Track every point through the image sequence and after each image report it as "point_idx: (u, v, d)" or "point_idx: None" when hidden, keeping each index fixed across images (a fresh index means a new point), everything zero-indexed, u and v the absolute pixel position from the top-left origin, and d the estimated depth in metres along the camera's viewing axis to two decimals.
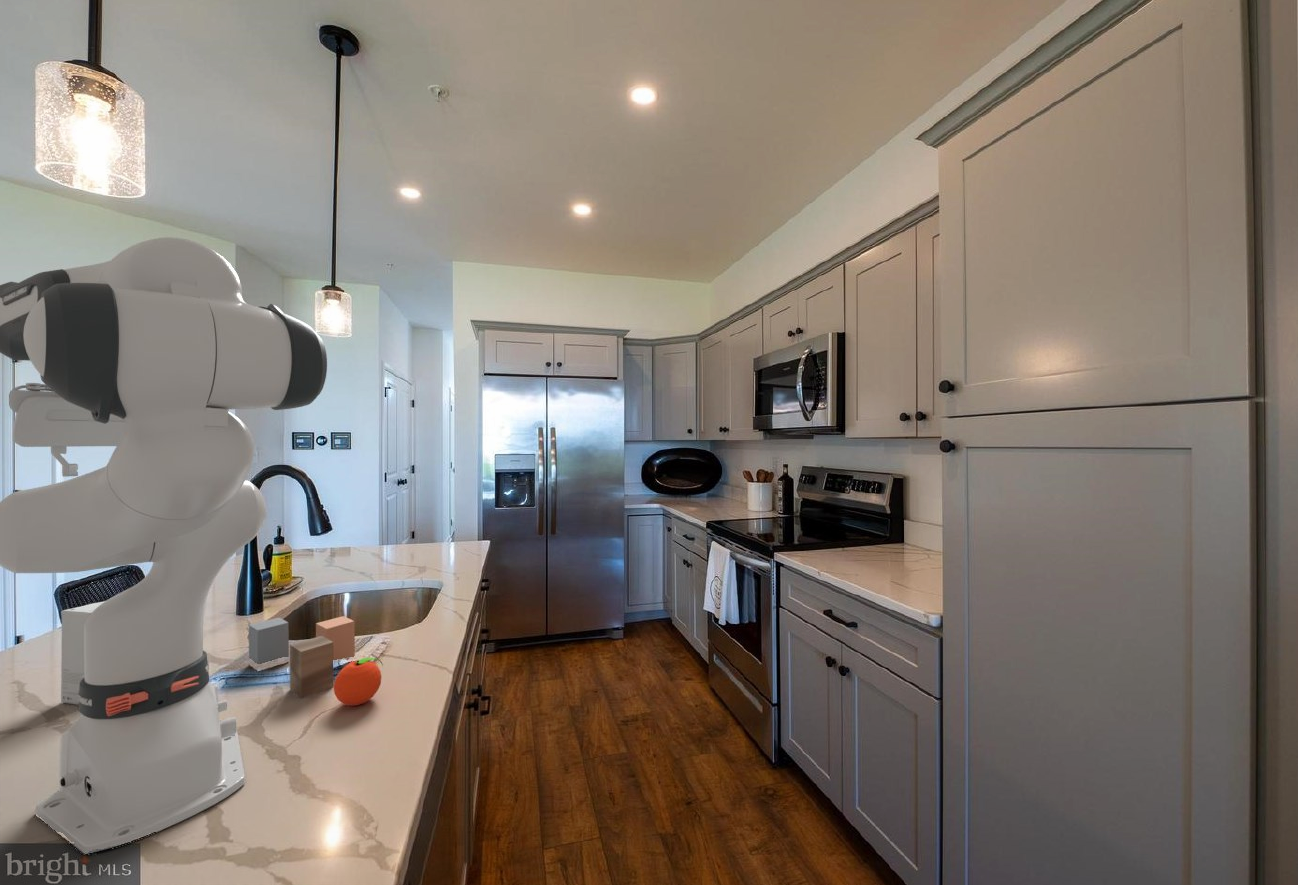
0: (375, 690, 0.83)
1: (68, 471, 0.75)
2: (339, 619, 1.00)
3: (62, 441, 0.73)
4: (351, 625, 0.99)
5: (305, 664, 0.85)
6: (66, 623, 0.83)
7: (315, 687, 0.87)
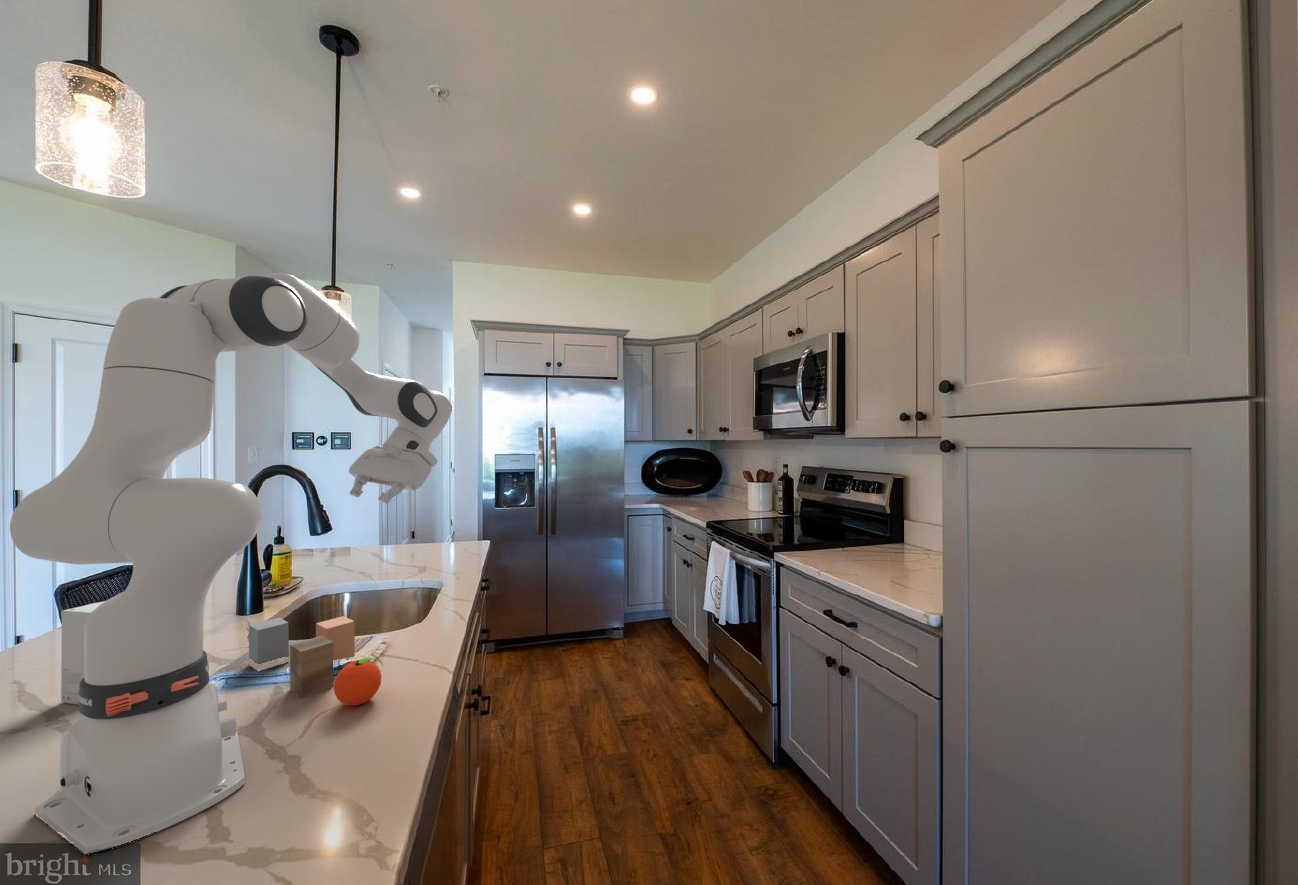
0: (375, 690, 0.83)
1: (352, 490, 1.12)
2: (339, 619, 1.00)
3: (360, 470, 1.14)
4: (351, 625, 0.99)
5: (305, 664, 0.85)
6: (66, 623, 0.83)
7: (315, 687, 0.87)
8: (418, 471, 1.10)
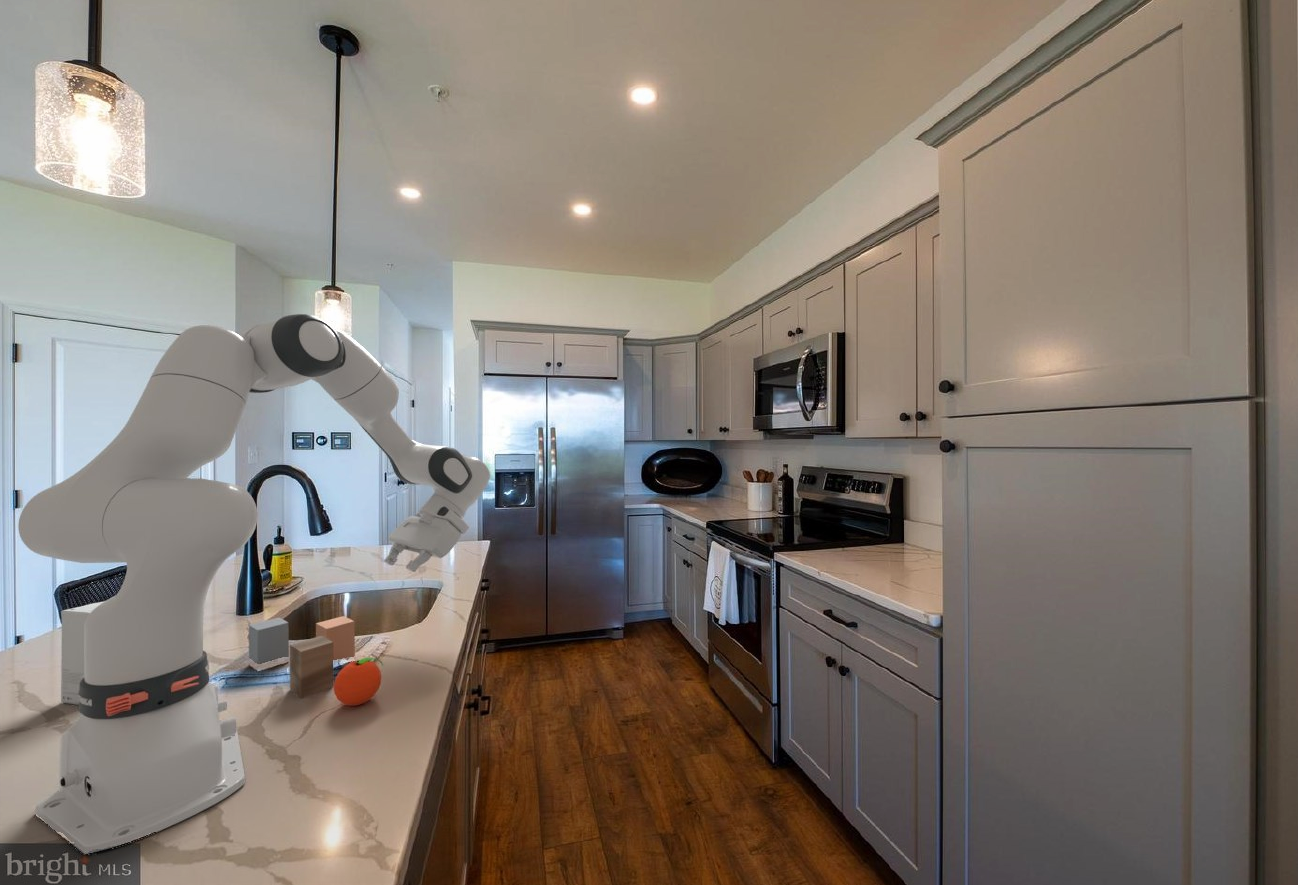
0: (375, 690, 0.83)
1: (387, 558, 1.12)
2: (339, 619, 1.00)
3: (397, 538, 1.14)
4: (351, 625, 0.99)
5: (305, 664, 0.85)
6: (66, 623, 0.83)
7: (315, 687, 0.87)
8: (444, 538, 1.07)
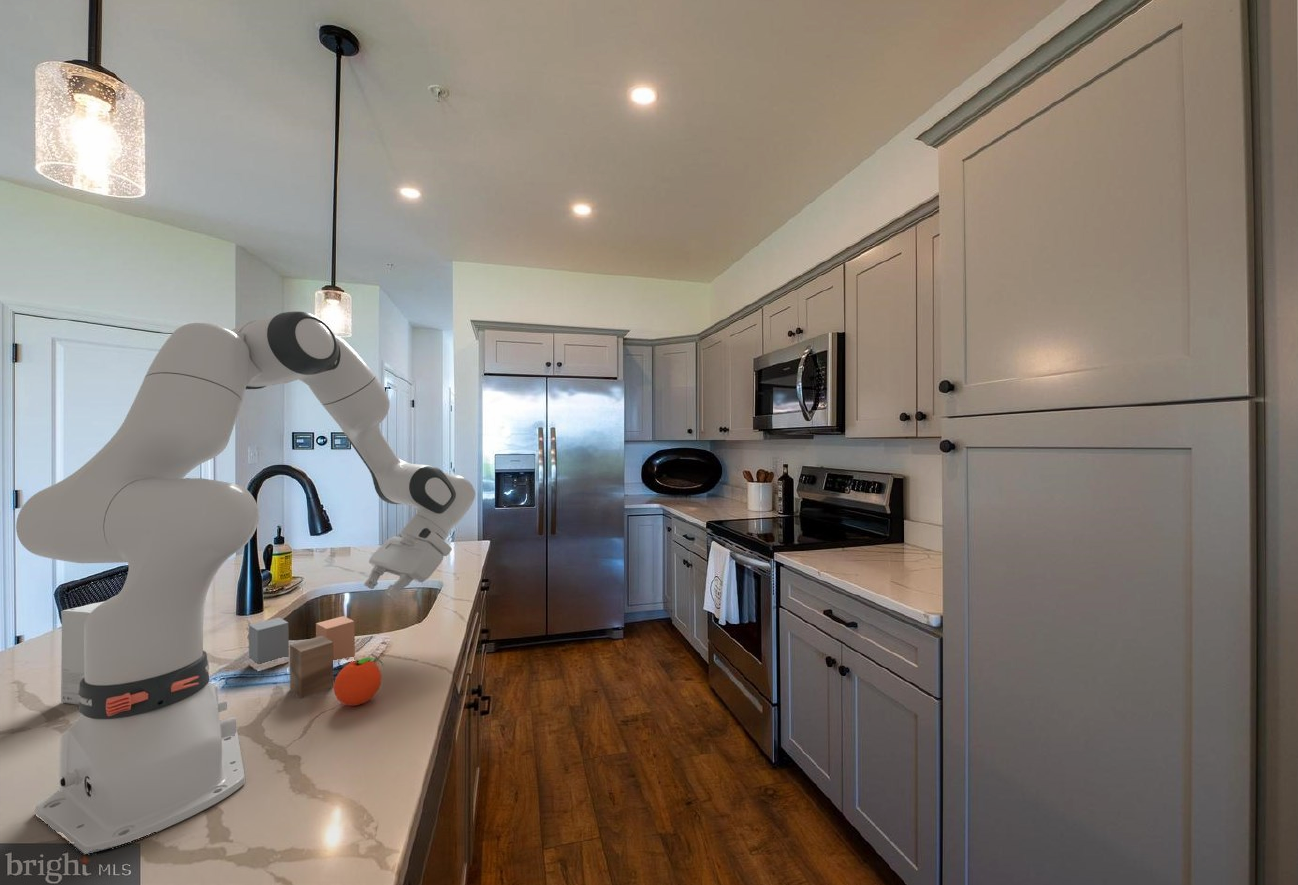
0: (375, 690, 0.83)
1: (367, 581, 1.08)
2: (339, 619, 1.00)
3: (377, 560, 1.11)
4: (351, 625, 0.99)
5: (305, 664, 0.85)
6: (66, 623, 0.83)
7: (315, 687, 0.87)
8: (425, 561, 1.03)
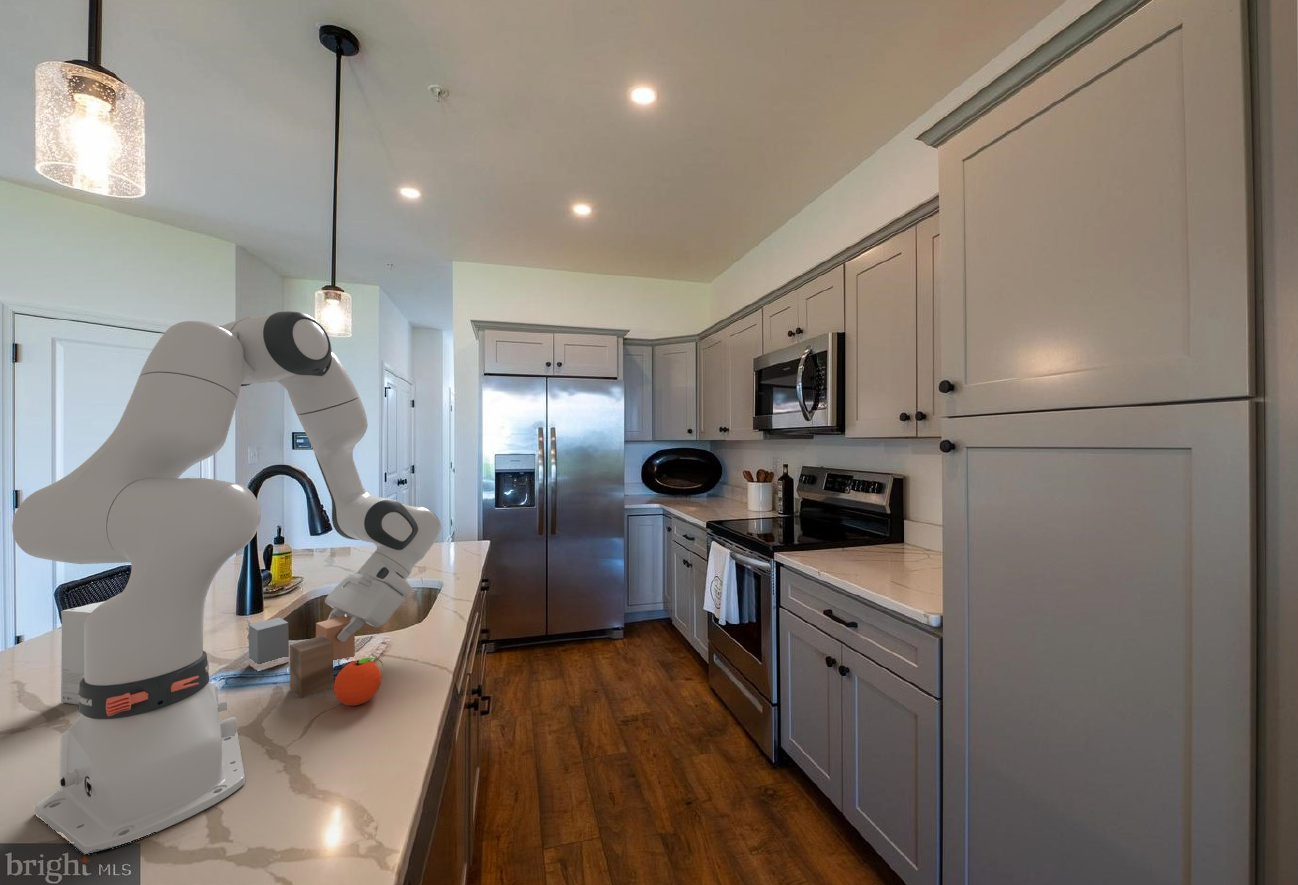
0: (375, 690, 0.83)
1: None
2: (339, 619, 1.00)
3: (333, 601, 1.03)
4: None
5: (305, 664, 0.85)
6: (66, 623, 0.83)
7: (315, 687, 0.87)
8: (382, 605, 0.96)
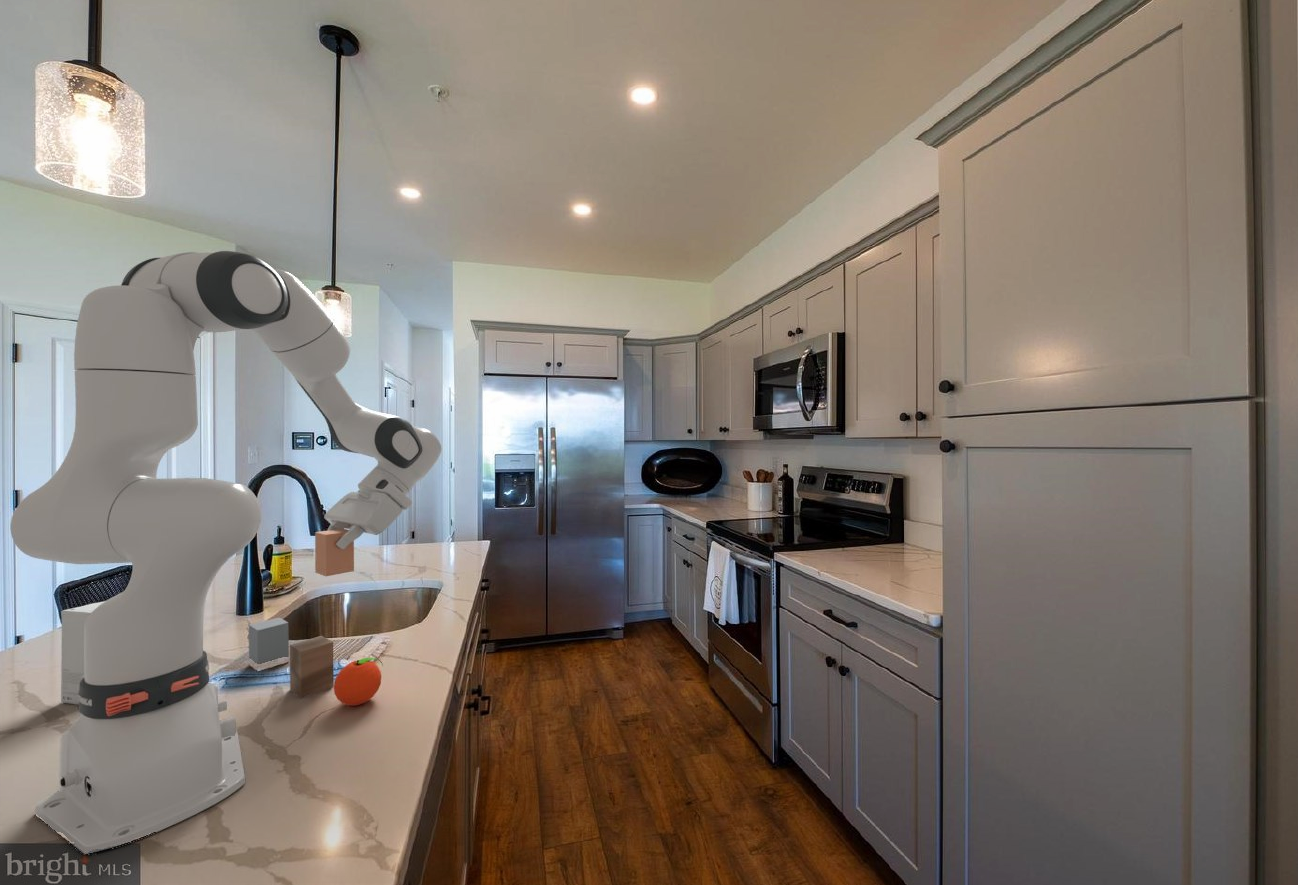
0: (375, 690, 0.83)
1: None
2: (338, 530, 1.00)
3: (333, 515, 1.03)
4: None
5: (305, 664, 0.85)
6: (66, 623, 0.83)
7: (315, 687, 0.87)
8: (381, 512, 0.96)
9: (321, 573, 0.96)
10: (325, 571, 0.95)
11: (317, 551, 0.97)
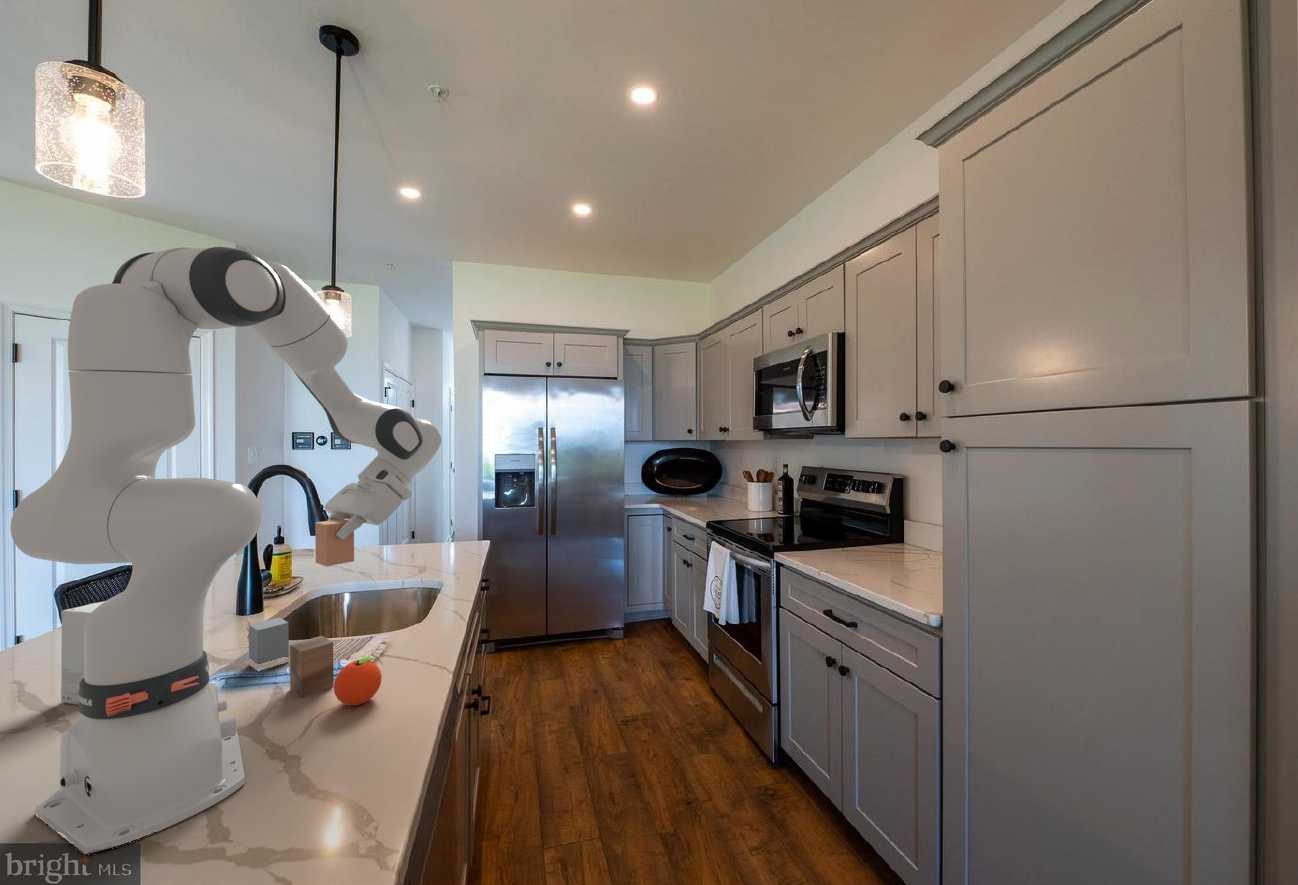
0: (375, 690, 0.83)
1: None
2: (338, 520, 1.00)
3: (333, 506, 1.03)
4: None
5: (305, 664, 0.85)
6: (66, 623, 0.83)
7: (315, 687, 0.87)
8: (381, 503, 0.96)
9: (321, 563, 0.96)
10: (325, 561, 0.95)
11: (317, 541, 0.97)
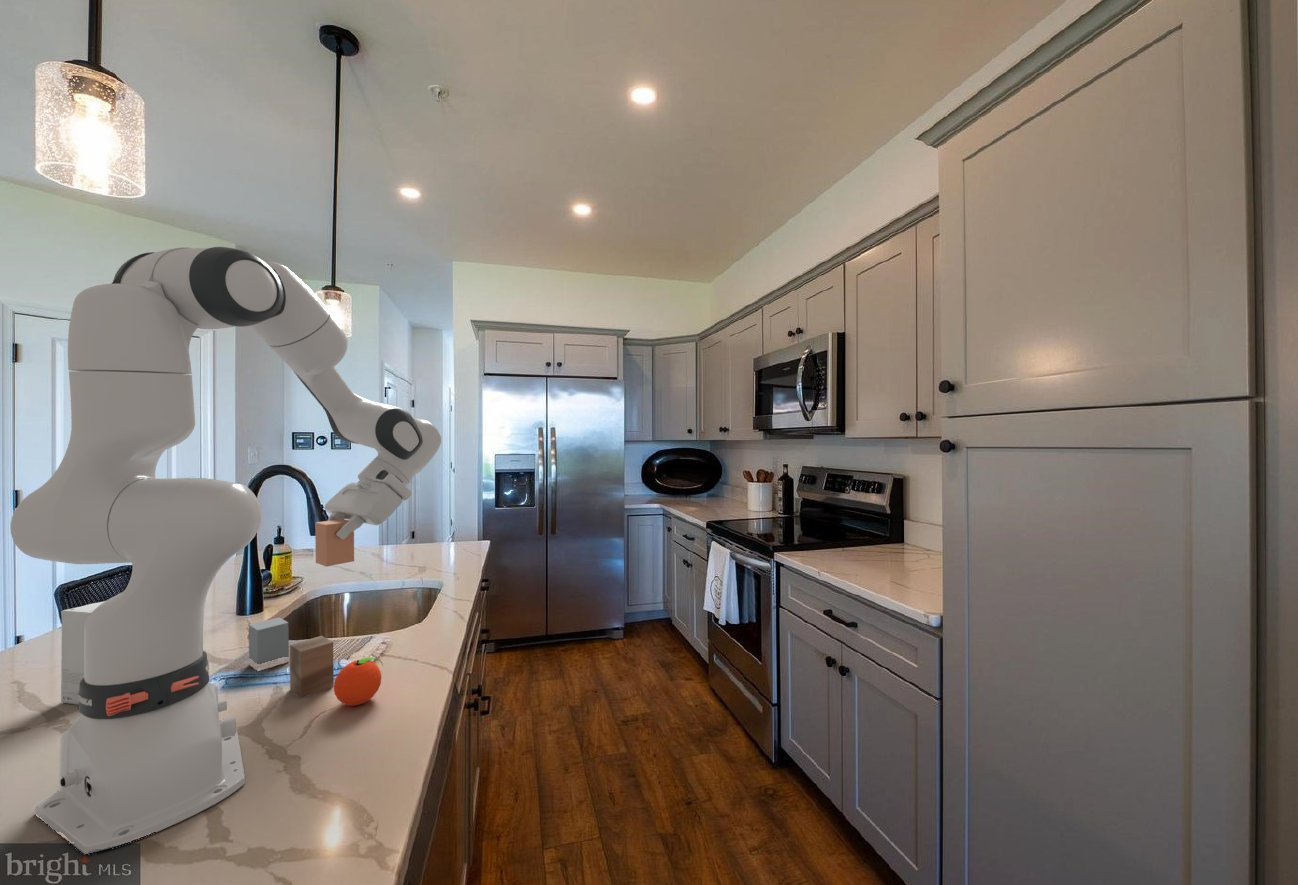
0: (375, 690, 0.83)
1: None
2: (338, 520, 1.00)
3: (333, 506, 1.03)
4: None
5: (305, 664, 0.85)
6: (66, 623, 0.83)
7: (315, 687, 0.87)
8: (381, 503, 0.96)
9: (321, 563, 0.96)
10: (325, 561, 0.95)
11: (317, 541, 0.97)
